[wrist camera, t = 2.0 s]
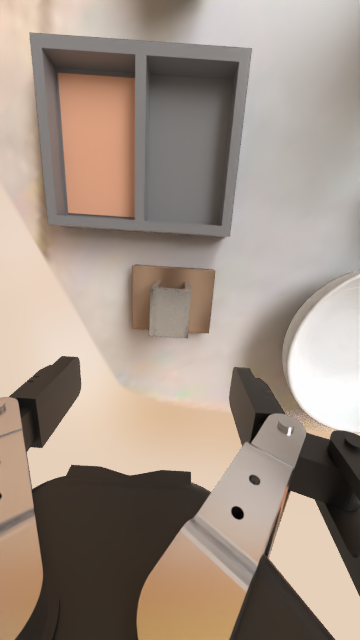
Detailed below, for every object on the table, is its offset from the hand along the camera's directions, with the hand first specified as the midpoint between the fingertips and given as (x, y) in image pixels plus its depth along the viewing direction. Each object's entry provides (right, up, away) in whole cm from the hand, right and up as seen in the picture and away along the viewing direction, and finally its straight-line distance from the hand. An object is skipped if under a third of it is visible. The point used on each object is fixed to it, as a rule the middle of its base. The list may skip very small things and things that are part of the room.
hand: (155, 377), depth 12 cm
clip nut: (0, +5, +17) cm, 18 cm away
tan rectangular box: (0, +6, +19) cm, 20 cm away
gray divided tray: (-3, +21, +14) cm, 26 cm away
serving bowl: (+24, +1, +21) cm, 32 cm away
